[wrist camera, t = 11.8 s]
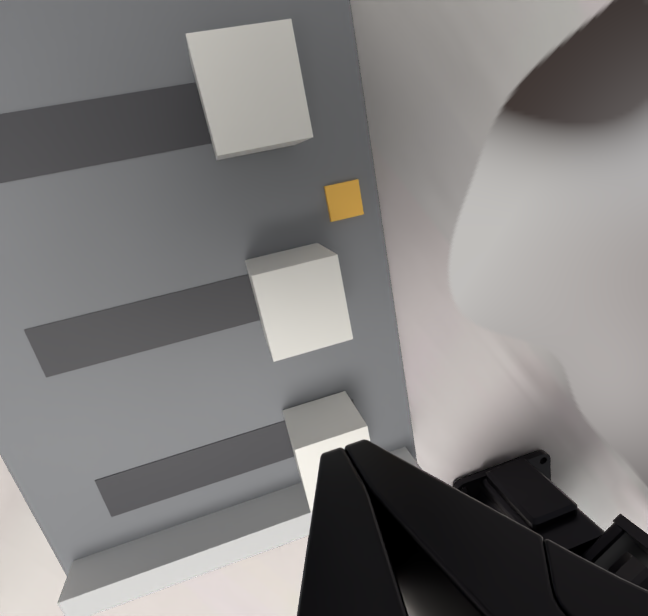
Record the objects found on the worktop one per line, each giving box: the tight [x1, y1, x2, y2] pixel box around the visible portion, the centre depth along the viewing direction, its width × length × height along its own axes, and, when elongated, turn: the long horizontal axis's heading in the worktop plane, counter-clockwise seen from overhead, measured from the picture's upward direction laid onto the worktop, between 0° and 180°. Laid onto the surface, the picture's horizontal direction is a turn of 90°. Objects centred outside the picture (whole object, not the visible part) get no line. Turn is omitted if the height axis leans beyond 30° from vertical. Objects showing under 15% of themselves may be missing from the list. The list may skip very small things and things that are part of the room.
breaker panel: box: [0, 0, 422, 616], centre depth 17 cm, size 22×17×4 cm
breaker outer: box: [186, 19, 313, 160], centre depth 14 cm, size 3×3×3 cm
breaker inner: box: [282, 391, 370, 514], centre depth 18 cm, size 3×3×3 cm
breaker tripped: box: [245, 243, 353, 362], centre depth 16 cm, size 3×3×3 cm
